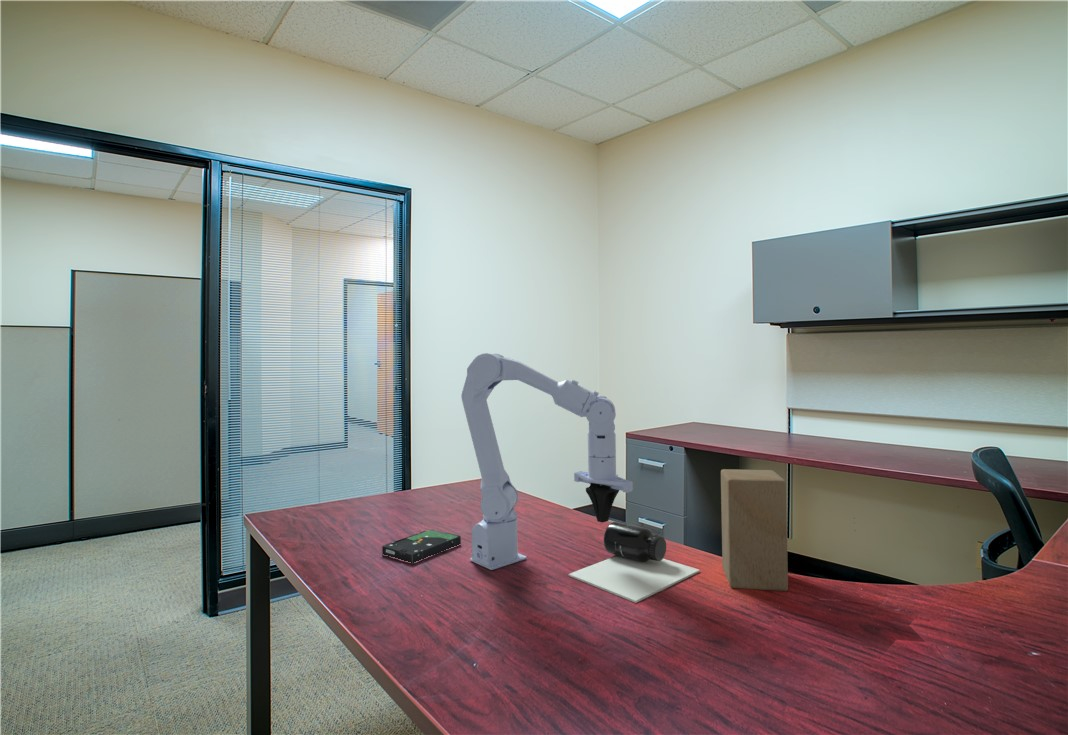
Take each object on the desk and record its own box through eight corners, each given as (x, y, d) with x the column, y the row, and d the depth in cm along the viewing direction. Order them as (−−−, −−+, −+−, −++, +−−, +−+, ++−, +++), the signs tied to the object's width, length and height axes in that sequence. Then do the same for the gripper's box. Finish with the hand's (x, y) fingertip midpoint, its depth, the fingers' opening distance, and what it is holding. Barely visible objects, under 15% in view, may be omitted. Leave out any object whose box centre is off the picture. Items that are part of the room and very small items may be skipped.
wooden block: (788, 592, 97) (786, 480, 97) (729, 588, 99) (727, 479, 99) (775, 571, 106) (773, 469, 106) (722, 568, 108) (720, 468, 108)
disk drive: (413, 568, 114) (461, 546, 126) (412, 554, 114) (461, 534, 126) (381, 558, 120) (430, 538, 132) (381, 545, 120) (430, 527, 132)
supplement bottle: (599, 549, 114) (648, 562, 106) (607, 517, 117) (656, 527, 108) (616, 556, 119) (665, 569, 110) (623, 525, 121) (672, 536, 113)
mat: (635, 602, 94) (635, 600, 94) (568, 576, 106) (568, 573, 106) (699, 571, 107) (699, 569, 107) (633, 551, 119) (633, 549, 119)
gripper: (642, 457, 109) (643, 524, 109) (589, 449, 120) (590, 510, 120) (619, 462, 105) (620, 532, 105) (566, 453, 116) (567, 516, 116)
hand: (602, 521), depth 112 cm, fingers closed
